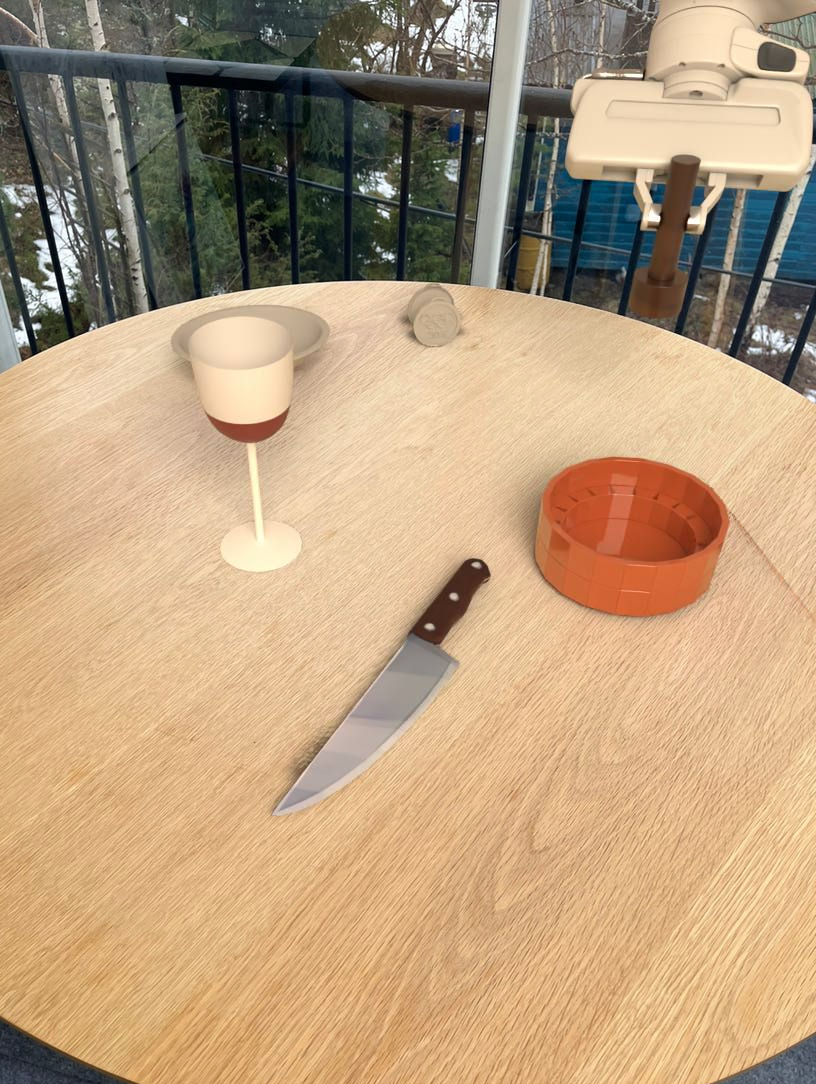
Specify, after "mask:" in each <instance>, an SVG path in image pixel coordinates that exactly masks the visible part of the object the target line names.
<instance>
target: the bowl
mask: <svg viewBox="0 0 816 1084" xmlns="http://www.w3.org/2000/svg"><path fill="white" fill-rule="evenodd" d="M546 485H547V486H546V487H545V488H544V491H543V492H542V495H541V502H540V507H539V514H538V521H537V528H536V535H535V542H534V559H535V562H536V564H537V566H538V568H539V569H540V572H541V573H542V575H543V577H544V579H545V580H547V582H548V583H550V584H551V585H552V587H554V588H555V589H556V590H557V591H558V592H559V593H560V594H562V595H564V596H565V597H567V598H570V599H571V600H573V601H575V602H576V603H579V604H580V605H583V606H584V607H588V608H591V609H594V610H598V611H601V612H605V613H609V614H612V615H615V616H616V615H618V616H631V617H651V616H652V617H653V616H658V615H664V614H671V613H674V612H676V611H679V610H681V609H683V608H685V607H688V606H690V605H692V604H694V603H696V602H697V601H698V600H699V599H700V598H701V597H702V596H703V595H704V594H705V593H706V592H707V591H708V590H709V589H710V586H711V583H712V579H713V578H714V573H715V570H716V568H717V564H718V561H719V558H720V555H721V552H722V548H723V546H724V544H725V539H726V537H727V534H728V530H729V527H730V525H731V522H730V517H729V513H728V509H727V505H726V504H725V502H724V501H723V500H722V499H721V497H720V496H719V495H718V494H717V492H716V491H715V490H714V489H713V487H711V486H710V485H709V484H707V483H706V482H704V481H703V480H701V479H700V478H699V477H697V476H696V475H694V474H692V473H690V472H688V471H685V470H683V469H681V468H678V467H676V466H674V465H671V464H668V463H665V462H661V461H657V460H652V459H647V458H643V457H629V456H607V457H599V458H598V457H597V458H591V459H586V460H583V461H581V462H577V463H574V464H572V465H570V466H567V467H565V468H564V469H562V470H561V471H560V472H559V473H557V474H555V475H554V476H553V477H552V478H550V480H549V482H548V483H547V484H546Z"/></svg>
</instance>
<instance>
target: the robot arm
mask: <svg viewBox="0 0 816 1084" xmlns="http://www.w3.org/2000/svg"><path fill="white" fill-rule="evenodd" d="M657 1H658V15H657V17H656V20H655V22H654V24H653V25H652V29H651V32H650V38H649V43H648V49H647V56H646V61H645V68H644V69H642V68H641V69H640V68H620V69H611V68H607V67H597V68H593V69H592V71H591V72H588V73H585V74H583V75H581V76H580V77H579V78H578V79H576V81H575V83H573V86H572V89H571V96H570V102H569V105H570V106H569V107H570V111H571V113H572V115H573V120H572V123H571V128H570V131H569V136H568V141H567V144H566V150H565V158H564V168H565V170H566V171H567V173H568V175H569V176H570V177H571V178H572V179H576V180H591V181H592V180H593V181H608V182H625V183H626V182H627V183H634V185H633V192H632V194H633V196H634V198H635V200H636V202H637V205H638V207H639V210H640V212H641V213H642V214H641V221H640V226H639V227H640V228H639V230H640V231H648V232H649V231H650V232H656V231H657V230H658V226H659V222H660V214H661V210H662V203H654V201H653V199H652V196H651V194H650V191H651V187H652V184H656V185H658V184H659V185H666V182H667V177H668V172H669V168H670V163H671V158H672V157H673V156H675V155H681V154H686V155H693V156H696V157H699V158H700V159H701V163H700V167H699V172H698V176H697V181H696V185H695V187H704V192H703V196H704V198H705V199H704V200H703V202H701V204H700V205H691V207H690V211H689V216H688V221H687V225H686V229H685V234H693V235H703V232H704V230H705V226H706V221H707V215H708V214H709V213H710V212H711V210H712V209H713V208H714V207H715V205H716V204H717V203H718V202H719V200H720V199H721V197H722V194H723V192H724V190H725V189H738V190H754V191H755V190H756V191H769V192H772V191H774V192H789V191H791V190H792V189H794V187H795V186H796V185H797V184H799V183H800V182H801V180H802V179H803V177H804V175H805V173H806V171H807V169H808V167H809V164H810V161H811V153H812V145H813V133H814V132H813V130H814V109H813V107H814V105H813V100H812V97H811V94H810V92H809V91H808V89H807V88H806V87H805V86H804V85H805V82H806V80H807V76H808V72H809V69H810V64H811V58H810V54H808V52H806V51H805V50H803V49H800V48H798V47H795V46H792V45H789V44H786V43H783V42H781V41H778V40H776V39H773V38H770V37H768V36H766V35H764V34H762V33H760V32H758V30H759V27H761V26H762V25H777V24H782V23H786V22H790V21H793V20H796V19H800V18H803V17H806V16H809V15H810V16H811V15H812V14H816V0H657Z"/></svg>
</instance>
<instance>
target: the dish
mask: <svg viewBox="0 0 816 1084" xmlns="http://www.w3.org/2000/svg"><path fill="white" fill-rule="evenodd" d="M230 317H256V318H262V319H267V320H270V321H273V322H275V323H278V324H280V325H281V326H283V327H284V328H286V329H287V330H288V331H289V333H290V334H291V336H292V339H293V369H294V368H297V367H298V366H299V365H301V364H303V362H304V361H306V360H307V359H308V358H309V357H310V356H311V355H312V354H313V353H315V352H316V351H318V350H319V349H320V348H322V347H323V346H324V345H325V344H326V342H327V341H328V340H329V337H330V331H331V330H330V325H329V324H328V323H327V321H326V320H325V319H324V318H322V317H321V316H320V315H318V314H316V313H314V312H312V311H309V310H306V309H303V308H299V307H295V306H288V305H282V304H281V305H278V304H248V305H237V306H232V307H226V308H220V309H217V310H212V311H209V312H206V313H203V314H201V315H198V316H196V317H193V318H191V319H189V320H187V321H186V322H184V323H183V324H181V325H180V326H178V328H176V330H174V332H173V333H172V336H171V338H170V345H171V348H172V350H173V352H174V353H175V354H176V355H177V356H178V357H180V358H181V359H183V360H185V361H187V362H190V363H191V358H190V352H189V346H188V345H189V340H190V337H191V336H192V335H193V333H194V332H195V331H196V330H198V329H199V328H201V327H202V326H204V325H206V324H208V323H210V322H213V321H216V320H220V319H224V318H230Z"/></svg>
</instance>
